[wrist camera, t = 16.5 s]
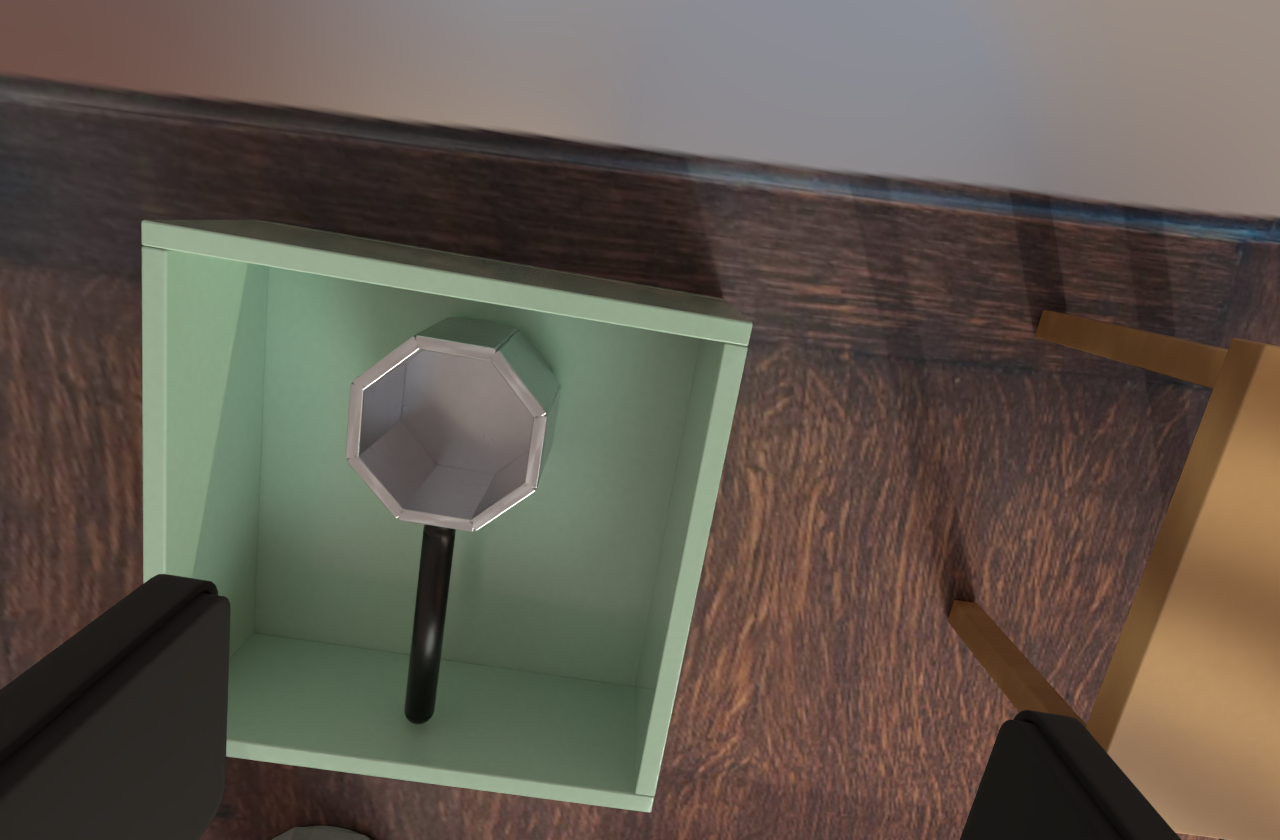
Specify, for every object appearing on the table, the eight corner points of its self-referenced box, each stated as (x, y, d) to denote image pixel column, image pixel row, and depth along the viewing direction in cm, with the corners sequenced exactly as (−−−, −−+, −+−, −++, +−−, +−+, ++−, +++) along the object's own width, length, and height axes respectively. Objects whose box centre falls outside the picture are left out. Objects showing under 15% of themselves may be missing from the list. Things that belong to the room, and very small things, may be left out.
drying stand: (1036, 298, 32) (1265, 343, 20) (1341, 351, 33) (1730, 424, 21) (936, 627, 36) (1080, 820, 24) (1210, 667, 37) (1475, 874, 25)
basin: (260, 219, 31) (140, 219, 23) (724, 298, 32) (753, 322, 24) (245, 635, 36) (143, 746, 28) (647, 692, 37) (651, 813, 29)
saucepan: (402, 306, 31) (354, 324, 26) (569, 334, 31) (556, 358, 26) (372, 644, 35) (324, 721, 30) (519, 665, 35) (499, 746, 30)
